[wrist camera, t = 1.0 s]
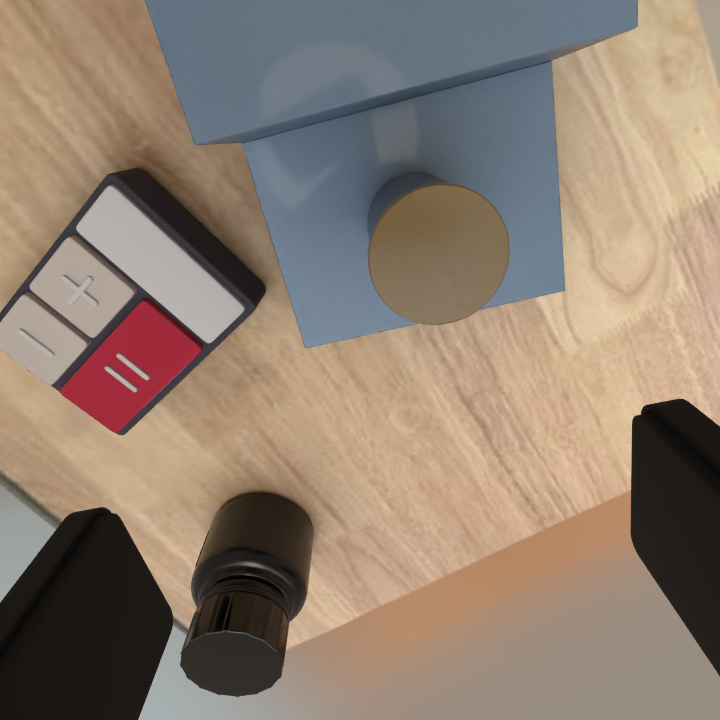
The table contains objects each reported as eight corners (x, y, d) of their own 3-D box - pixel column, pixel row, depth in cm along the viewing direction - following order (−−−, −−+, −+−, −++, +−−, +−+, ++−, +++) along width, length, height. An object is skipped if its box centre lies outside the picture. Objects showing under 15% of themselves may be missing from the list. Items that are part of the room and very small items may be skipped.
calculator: (-28, 340, 31) (103, 170, 26) (17, 316, 35) (138, 163, 30) (116, 444, 34) (255, 312, 30) (142, 411, 38) (269, 289, 33)
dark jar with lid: (354, 182, 26) (353, 204, 18) (455, 157, 26) (502, 166, 17) (376, 280, 28) (384, 338, 20) (469, 258, 28) (516, 309, 20)
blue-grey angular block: (199, -61, 26) (64, -229, 14) (501, -154, 24) (641, -430, 12) (311, 320, 35) (288, 416, 23) (536, 269, 33) (636, 343, 21)
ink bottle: (189, 534, 43) (133, 669, 32) (244, 471, 40) (203, 596, 29) (279, 583, 46) (255, 723, 35) (337, 527, 43) (330, 661, 32)
